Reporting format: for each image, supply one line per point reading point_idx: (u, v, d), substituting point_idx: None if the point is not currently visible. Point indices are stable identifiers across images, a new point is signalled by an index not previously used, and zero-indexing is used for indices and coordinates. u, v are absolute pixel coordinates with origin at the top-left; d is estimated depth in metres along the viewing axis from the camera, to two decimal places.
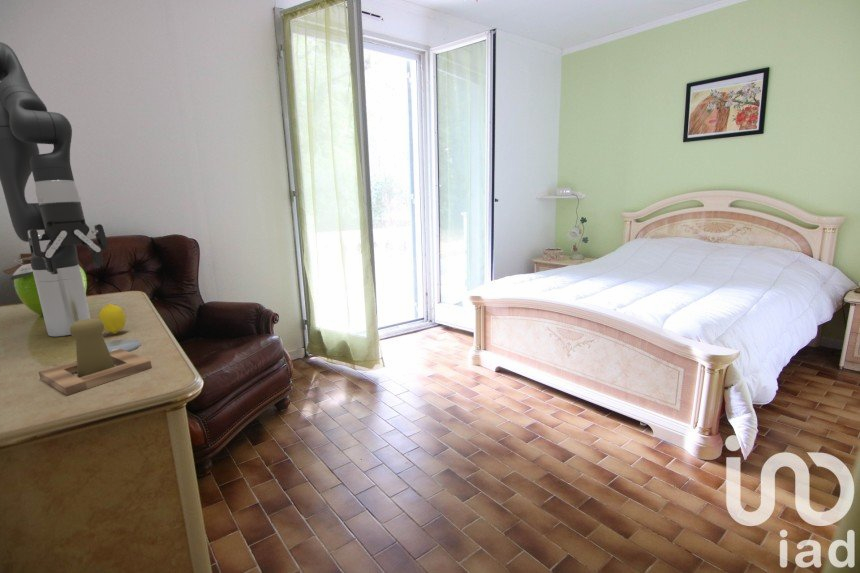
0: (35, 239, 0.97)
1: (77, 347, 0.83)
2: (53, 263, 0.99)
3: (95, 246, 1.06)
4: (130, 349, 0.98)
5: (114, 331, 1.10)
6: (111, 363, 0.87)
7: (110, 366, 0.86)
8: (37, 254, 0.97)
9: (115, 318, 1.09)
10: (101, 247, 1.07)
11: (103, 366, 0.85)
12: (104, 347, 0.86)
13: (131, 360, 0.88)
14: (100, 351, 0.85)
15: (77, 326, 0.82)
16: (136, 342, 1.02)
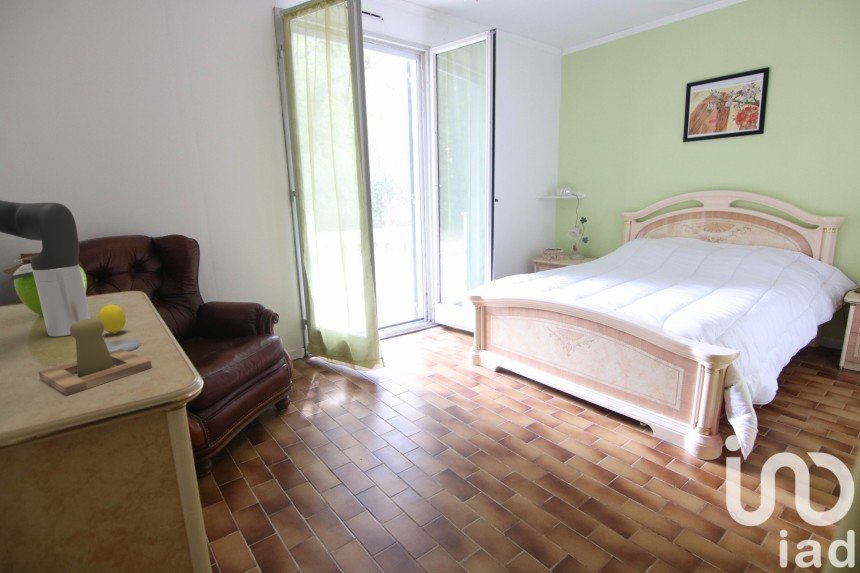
0: None
1: (77, 347, 0.83)
2: None
3: None
4: (130, 349, 0.98)
5: (114, 331, 1.10)
6: (111, 363, 0.87)
7: (110, 366, 0.86)
8: None
9: (115, 318, 1.09)
10: None
11: (103, 366, 0.85)
12: (104, 347, 0.86)
13: (131, 360, 0.88)
14: (100, 351, 0.85)
15: (76, 326, 0.82)
16: (136, 342, 1.02)
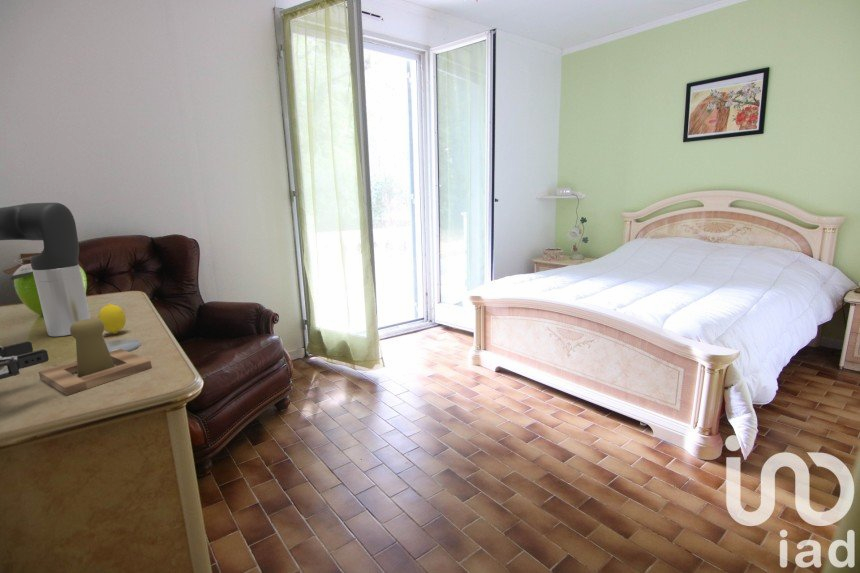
0: None
1: (77, 347, 0.83)
2: None
3: None
4: (130, 349, 0.98)
5: (114, 331, 1.10)
6: (111, 363, 0.87)
7: (110, 366, 0.86)
8: None
9: (115, 318, 1.09)
10: None
11: (103, 366, 0.85)
12: (104, 347, 0.86)
13: (131, 360, 0.88)
14: (100, 351, 0.85)
15: (77, 326, 0.82)
16: (136, 342, 1.02)
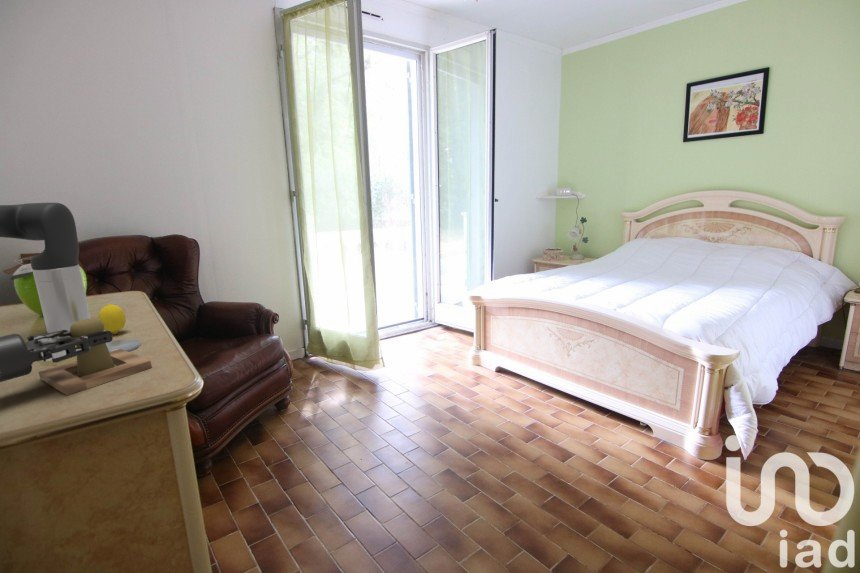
0: None
1: None
2: None
3: (80, 349, 0.81)
4: (130, 349, 0.98)
5: (114, 331, 1.10)
6: (111, 363, 0.87)
7: (110, 366, 0.86)
8: None
9: (115, 318, 1.09)
10: None
11: (104, 366, 0.85)
12: (104, 347, 0.86)
13: (131, 360, 0.88)
14: (100, 351, 0.85)
15: (77, 326, 0.82)
16: (136, 342, 1.02)
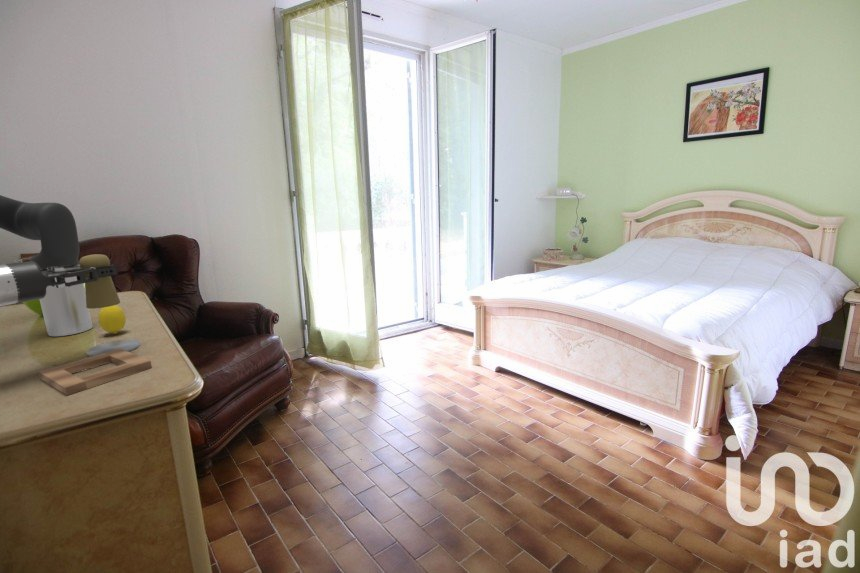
0: None
1: None
2: None
3: None
4: (130, 349, 0.98)
5: (114, 331, 1.10)
6: (116, 296, 0.96)
7: (115, 298, 0.95)
8: None
9: (115, 318, 1.09)
10: None
11: (110, 297, 0.94)
12: (110, 280, 0.94)
13: (131, 360, 0.88)
14: (106, 283, 0.93)
15: (85, 259, 0.91)
16: (136, 342, 1.02)
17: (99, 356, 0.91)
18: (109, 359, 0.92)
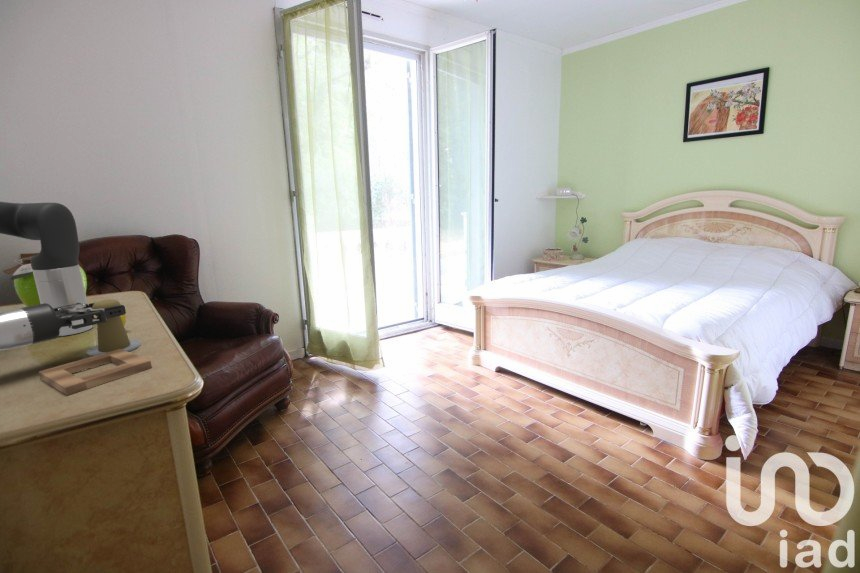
0: None
1: None
2: None
3: None
4: (130, 349, 0.98)
5: None
6: (127, 338, 1.00)
7: (126, 341, 0.99)
8: None
9: None
10: None
11: (120, 340, 0.98)
12: (121, 324, 0.99)
13: (131, 360, 0.88)
14: (118, 327, 0.98)
15: (98, 305, 0.95)
16: (136, 342, 1.02)
17: (99, 356, 0.91)
18: (109, 359, 0.92)
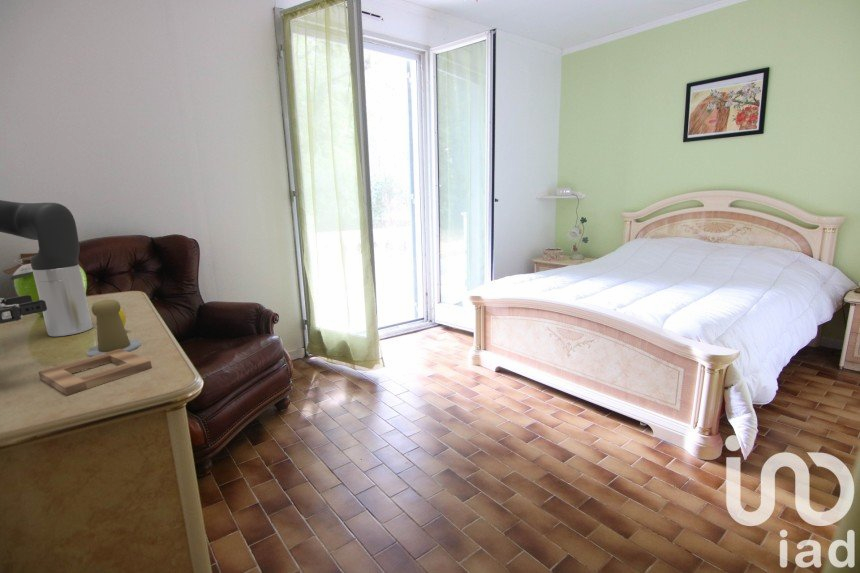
0: None
1: (97, 324, 0.96)
2: None
3: (12, 318, 0.82)
4: (130, 349, 0.98)
5: None
6: (126, 338, 1.00)
7: (126, 341, 0.99)
8: None
9: None
10: None
11: (120, 340, 0.98)
12: (120, 324, 0.98)
13: (131, 360, 0.88)
14: (117, 327, 0.98)
15: (97, 306, 0.95)
16: (136, 342, 1.02)
17: (99, 356, 0.91)
18: (109, 359, 0.92)
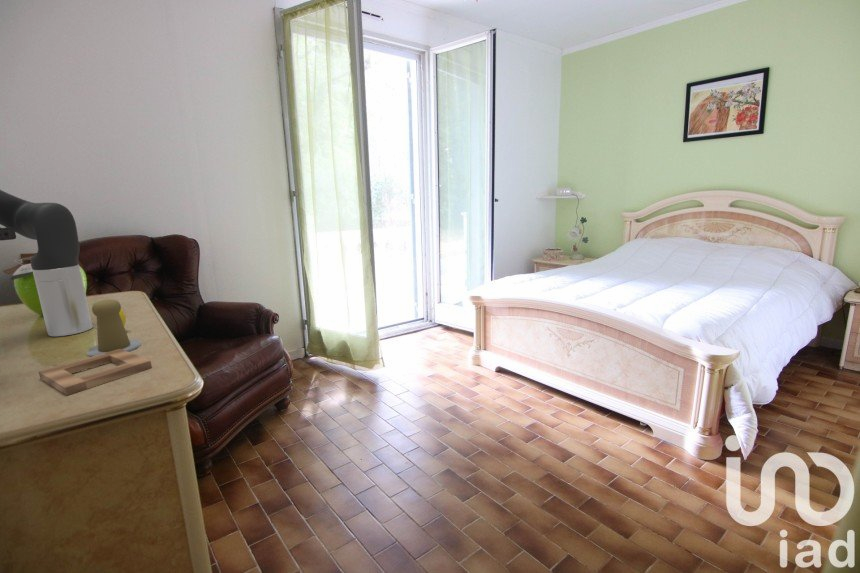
0: None
1: (98, 324, 0.96)
2: None
3: None
4: (130, 349, 0.98)
5: None
6: (127, 338, 1.00)
7: (126, 341, 0.99)
8: None
9: None
10: None
11: (120, 341, 0.98)
12: (121, 324, 0.98)
13: (131, 360, 0.88)
14: (117, 327, 0.98)
15: (98, 306, 0.95)
16: (136, 342, 1.02)
17: (99, 356, 0.91)
18: (109, 359, 0.92)
